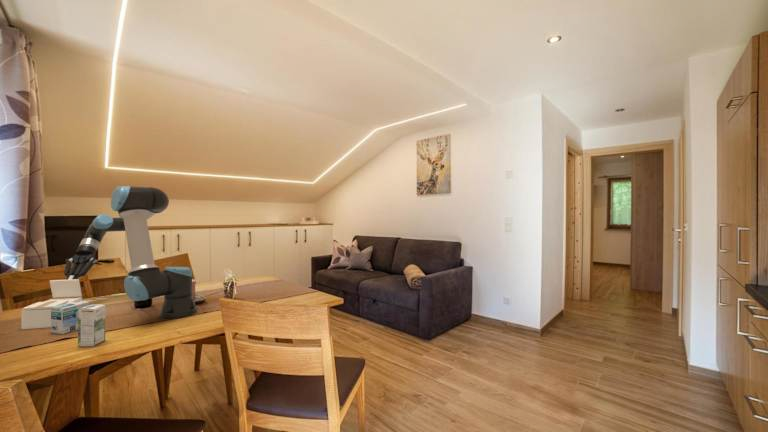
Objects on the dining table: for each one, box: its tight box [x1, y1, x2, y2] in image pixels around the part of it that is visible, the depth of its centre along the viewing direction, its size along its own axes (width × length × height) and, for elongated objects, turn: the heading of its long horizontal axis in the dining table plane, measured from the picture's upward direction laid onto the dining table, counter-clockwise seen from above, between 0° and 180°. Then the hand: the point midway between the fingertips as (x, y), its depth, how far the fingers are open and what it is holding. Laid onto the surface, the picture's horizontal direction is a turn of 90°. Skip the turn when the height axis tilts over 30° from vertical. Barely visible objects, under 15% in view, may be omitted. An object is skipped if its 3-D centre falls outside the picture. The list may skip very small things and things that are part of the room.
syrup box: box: [77, 303, 107, 347], centre depth 125 cm, size 6×6×14 cm
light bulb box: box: [50, 300, 91, 335], centre depth 138 cm, size 11×7×11 cm, turn 168°
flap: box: [49, 278, 83, 299], centre depth 155 cm, size 9×11×1 cm
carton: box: [20, 296, 83, 330], centre depth 147 cm, size 18×12×9 cm, turn 16°
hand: (67, 288), depth 157 cm, fingers closed
